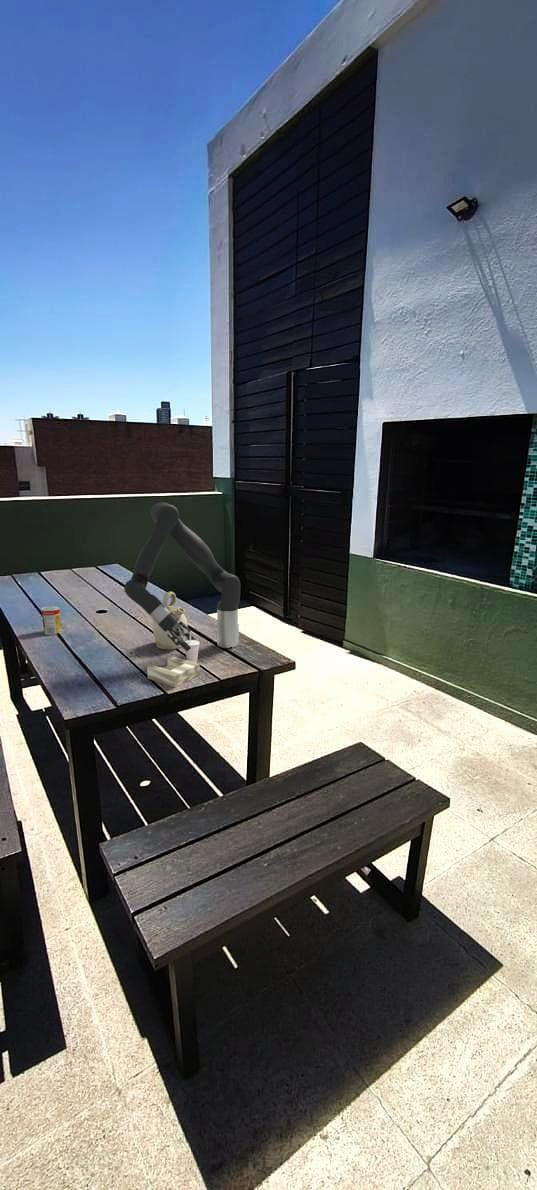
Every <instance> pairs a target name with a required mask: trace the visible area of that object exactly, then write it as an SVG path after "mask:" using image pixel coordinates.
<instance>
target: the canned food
mask: <svg viewBox="0 0 537 1190" xmlns="http://www.w3.org/2000/svg"><path fill="white" fill-rule="evenodd" d="M41 618H42V627H43V634H44V635H46V636H53V634H56V635H58V634H57V633H59V632H61V631H62V632H63V630H62V629H63V628H62V621H61V619H62V618H61V608H60V606H57V605H56V606H55V605H52V606H51V605H49V606H44V607H41ZM62 632H61V633H62ZM59 634H60V633H59Z"/></svg>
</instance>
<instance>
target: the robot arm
mask: <svg viewBox="0 0 537 1190" xmlns="http://www.w3.org/2000/svg"><path fill="white" fill-rule="evenodd" d="M150 510H151V511H150V513H151V515H150V516H151V519H152V520H153V522H154V523H155V525H154V529H153V531H152V534H151V536H150V537H149V538H148V540H147V542H146V543H145V544H144V545H143V547H142V548H141V550H140V552H139V553H138V556H137V558H136V561H135V563H134V567H133V573H132V575H131V577H130V580H127V581H126V582H125V584H124V586H123V587H124V588H123V589H124V592H125V594H126V595H127V596H128V597H129V598H130V599H131V600H132V601H133V602H134V603H135V604H137V605H138V606H140V607H141V608H142V609H143V610H144V612H146V614H147V615H149V616H150V618H151V619H152V620H154V621H155V622H156V623H157V624H158V625H159V626H160V627H161V628H162V629H163V630H164V631H165V632H166V631H167V630H168V631H169V633H168V634H167V636H168V637H169V638H170V639H171V640H172V641H173V642H174V643H175V644H176V645H177V646H178V645H181V646H182V647H181V648H183V650H184V651H185V650H186V651H188V650H190V648H191V647H190V646H189V645H188V644H187V643H186V642H185V641H186V640H185V641H184V639H183V636H185V637H186V639H187V641H188V640H190V632H191V633H192V631H191V629H190V628H189V626H188V625H187V626H186V625H185V624H184V623H183V622H182V621H180V622H179V623H177V621H178V618H177V617H176V616H175V615H174V614H173V613H172V612H171V611H170V610H169V609H168V608H167V607H166V606H165V605H164V604H163V601H161V600H160V599H159V598H158V597H157V596H156V595H154V594H153V593H150V591H148V590H147V589H146V588H147V586H148V583H149V579H150V577H151V575H152V574H151V573H152V572H153V569H154V567H155V565H156V562H157V559H158V558H159V555H160V554H161V551H162V548H163V547H164V545H165V543H166V541H167V540H168V538H169V537H171V538H172V539H173V541H174V543H176V545H177V546H178V547H179V549H180V550H181V551H182V552H183V554H185V556H186V557H187V558H188V559H189V560H190V561H191V562H192V563H193V564H194V565H195V566H196V567H197V569H199V570H201V572H203V573H204V575H206V577H207V578H208V579H209V581H210V583H211V584H212V585H213V586H214V588H215V589H216V590H217V591H218V592H219V593H221V599H220V600H219V601H218V602H217V604H216V607H217V608H216V613H217V614H216V618H217V619H216V620H217V621H216V623H217V625H216V627H217V636H216V638H217V647H220V648H223V649H230V647H232V648H235V647H237V646H238V644H239V639H240V638H239V636H240V635H239V633H240V631H239V630H240V629H239V628H240V626H239V625H240V624H239V618H238V617H239V604H240V602H241V601H240V599H241V581H240V578H239V577H238V576H237V575H235V574H232V573H230V572H227V571H226V570H225V569H224V568H222V566H221V565H219V564H218V562H217V561H216V559H215V557H214V554H213V552H212V550H211V549H210V547H209V546H208V545H207V544H206V543H205V541H204V540H203V539H202V538H201V537H199V535H197V534H196V532H194V531H192V529H190V528H189V527H187V525H185V523H183V522H182V520H181V519H180V513H179V510H178V508H177V507H175V505H173V504H170V503H168V502H157V503H155V504H154V505H153V506H152V508H151V509H150ZM180 639H181V640H180ZM191 640H197V639H196V638H195V637H194V635H192V634H191ZM176 641H177V642H176ZM186 651H185V652H186Z"/></svg>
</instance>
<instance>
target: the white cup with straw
mask: <svg viewBox="0 0 537 1190" xmlns="http://www.w3.org/2000/svg"><path fill="white" fill-rule="evenodd" d="M191 635H192V631H191V632H190V640H188V639H187V640H185V642H186V643H187V644H188V645H189V646H190V647H191V648H190V650H188V651H186V650H185V649H184V651H185V656H186V657H185V658H186V660H187V661H191V662H194V663H198V656H199V647H200V645H201V644H200V641H199V640H197V639H196V640H191Z"/></svg>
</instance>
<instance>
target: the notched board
mask: <svg viewBox="0 0 537 1190" xmlns="http://www.w3.org/2000/svg"><path fill="white" fill-rule="evenodd" d="M146 668H147V670H146V671H147V679H149V680H151V681H154V682H158V683H160V684H163V685H166V686H170V687H172V688H175V687H176V688H177V686H178V687H180V686H181V685H183V684H185V683H187V682H189V681H190V680H192V678H193V679H195V678H196V676H197V677H198V676H200V674H201V672H200V671H201V669H200V668H201V664H200V663H198V662H197V663H194V662H191V661H187V659H183V658H179V657H177V656H173V655H172V656H169V657H167V665H165V666H163V667H160V666H157V665H154V664H152V665H150V666H148V667H146ZM194 677H195V678H194Z"/></svg>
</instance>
